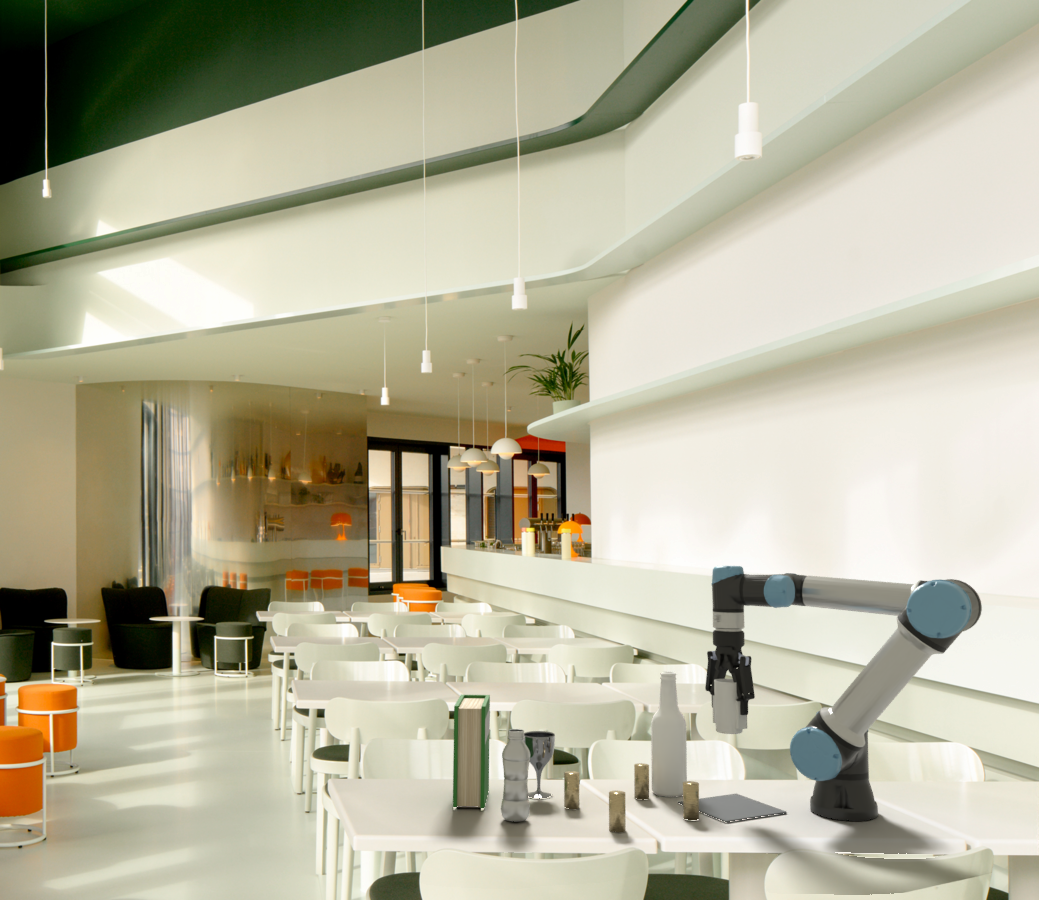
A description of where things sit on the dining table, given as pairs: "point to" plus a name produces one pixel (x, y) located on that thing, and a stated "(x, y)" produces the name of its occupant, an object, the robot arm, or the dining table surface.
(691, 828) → the dining table surface
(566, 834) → the dining table surface
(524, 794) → the plastic bottle
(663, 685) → the alcohol
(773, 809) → the mat
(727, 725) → the mug
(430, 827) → the dining table surface
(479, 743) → the hardback book
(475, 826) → the dining table surface
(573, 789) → the spacer posts
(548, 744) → the wine glass
